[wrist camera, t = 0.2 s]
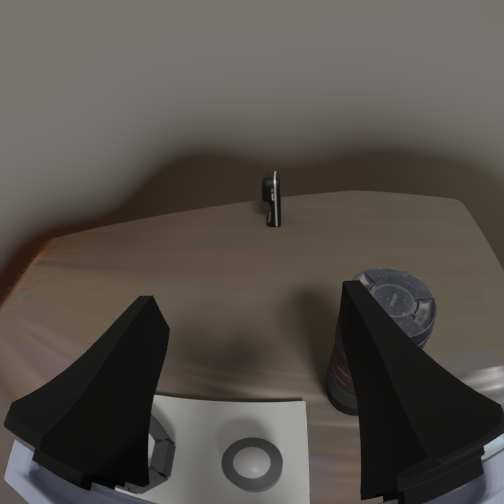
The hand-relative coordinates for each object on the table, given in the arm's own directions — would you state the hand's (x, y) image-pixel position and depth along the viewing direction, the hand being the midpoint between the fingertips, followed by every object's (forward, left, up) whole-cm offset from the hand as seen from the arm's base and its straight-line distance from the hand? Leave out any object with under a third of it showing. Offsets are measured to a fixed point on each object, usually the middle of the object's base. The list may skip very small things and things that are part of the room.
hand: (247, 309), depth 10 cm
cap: (-2, +1, -20) cm, 20 cm away
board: (-2, +8, -21) cm, 23 cm away
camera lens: (+7, -10, -21) cm, 25 cm away
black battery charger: (+50, -1, -21) cm, 54 cm away
